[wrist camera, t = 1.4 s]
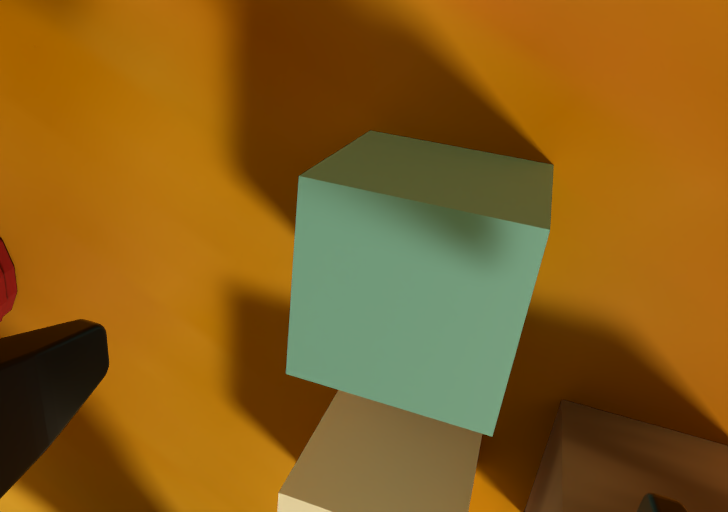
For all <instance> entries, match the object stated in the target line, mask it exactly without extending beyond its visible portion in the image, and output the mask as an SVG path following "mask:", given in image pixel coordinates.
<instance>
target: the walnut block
mask: <svg viewBox="0 0 728 512" xmlns="http://www.w3.org/2000/svg"><path fill="white" fill-rule="evenodd" d="M651 492H652V493H656V494H659V495H662V496H666V497H669V498H672V499H675V500H677V501H679V502H680V503H681V504H682V505H683V506H684V507H685V508H686V510H687V511H688V512H728V446H727V445H724V444H720V443H717V442H713V441H709V440H706V439H702V438H699V437H695V436H692V435H688V434H684V433H681V432H677V431H674V430H670V429H667V428H663V427H659V426H656V425H652V424H649V423H645V422H642V421H638V420H634V419H631V418H627V417H624V416H620V415H617V414H613V413H609V412H606V411H602V410H599V409H595V408H592V407H588V406H584V405H581V404H577V403H574V402H570V401H566V400H563V399H562V401H561V404H560V407H559V410H558V412H557V415H556V418H555V421H554V424H553V427H552V430H551V433H550V436H549V439H548V442H547V445H546V448H545V451H544V454H543V457H542V460H541V463H540V466H539V469H538V472H537V475H536V478H535V481H534V484H533V487H532V490H531V493H530V496H529V499H528V502H527V505H526V508H525V511H524V512H637V509H638V507H639V505H640V503H641V501H642V499H643V497H644V496H645V495H646V494H647V493H651Z"/></svg>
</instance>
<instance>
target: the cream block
mask: <svg viewBox="0 0 728 512" xmlns="http://www.w3.org/2000/svg"><path fill="white" fill-rule="evenodd" d="M481 439H482V433H478V432H475V431H472V430H469V429H465V428H462V427H459V426H455V425H452V424H449V423H446V422H442V421H439V420H436V419H432V418H429V417H426V416H423V415H419V414H416V413H413V412H409V411H406V410H403V409H400V408H396V407H393V406H390V405H386V404H383V403H380V402H377V401H373V400H370V399H367V398H363V397H360V396H357V395H354V394H350V393H347V392H344V391H340V390H338V392H337V393H336V395H335V397H334V398H333V400H332V402H331V404H330V405H329V407H328V409H327V410H326V412H325V414H324V416H323V417H322V419H321V421H320V422H319V424H318V426H317V428H316V429H315V431H314V433H313V434H312V436H311V438H310V440H309V441H308V443H307V445H306V446H305V448H304V450H303V452H302V453H301V455H300V457H299V459H298V460H297V462H296V464H295V465H294V467H293V469H292V471H291V472H290V474H289V476H288V477H287V479H286V481H285V483H284V484H283V486H282V488H281V489H280V491H279V495H278V510H277V512H468V510H469V504H470V499H471V494H472V488H473V483H474V477H475V472H476V466H477V461H478V455H479V450H480V444H481Z"/></svg>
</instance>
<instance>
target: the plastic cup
mask: <svg viewBox="0 0 728 512" xmlns="http://www.w3.org/2000/svg"><path fill="white" fill-rule="evenodd" d="M16 294H17V286H16V278H15V270H14V266H13V264H12V262H11V259H10V257H9V255H8V253H7V251H6V248H5V246H4V244H3V242H2V240H1V239H0V322H1V321H2V317H3V316H4V315H5V314H7V313H8V312H9V311H10V310H12V307H13V303H14V300H15V297H16Z"/></svg>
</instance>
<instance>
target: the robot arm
mask: <svg viewBox="0 0 728 512" xmlns="http://www.w3.org/2000/svg"><path fill="white" fill-rule="evenodd" d="M108 367H109V355H108V345H107V335H106V330H105V328H104V327H103V326H102V325H101V324H98V323H95V322H92V321H88V320H84V319H79V320H75V321H70V322H66V323H62V324H58V325H54V326H50V327H46V328H42V329H37V330H33V331H29V332H25V333H21V334H17V335H13V336H9V337H4V338H0V498H1V497H2V496H3V495H4V494H5V493H6V492H7V491H8V490H9V489H10V488H11V487H12V486H13V485H14V484H15V483H16V482H17V480H18V479H19V478H20V477H21V476H22V475H23V474H24V473H25V472H26V471H27V470H28V469H29V468H30V467H31V466H32V465H33V464H34V462H35V461H36V460H37V459H38V458H39V457H40V456H41V455H42V454H43V453H44V452H45V451H46V449H47V448H48V447H49V446H50V445H51V444H52V442H53V441H54V440H55V439H56V438H57V436H58V435H59V434H60V433H61V431H62V430H63V429H64V428H65V426H66V425H67V424H68V423H69V421H70V420H71V419H72V417H73V416H74V415H75V414H76V412H77V411H78V410H79V409H80V407H81V406H82V405H83V403H84V402H85V401H86V400H87V398H88V397H89V396H90V395H91V393H92V392H93V391H94V389H95V388H96V387H97V386H98V384H99V383H100V382H101V381H102V379H103V378H104V376H105V375H106V373H107V370H108ZM637 512H688V511H687V510H686V508H685V507H684V506H683V505H682V504H681V503H680V502H679V501H677V500H675V499H672V498H669V497H666V496H662V495H659V494H656V493H652V492H651V493H647V494H646V495H645V496H644V497H643V499H642V501H641V503H640V505H639V507H638V509H637Z"/></svg>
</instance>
